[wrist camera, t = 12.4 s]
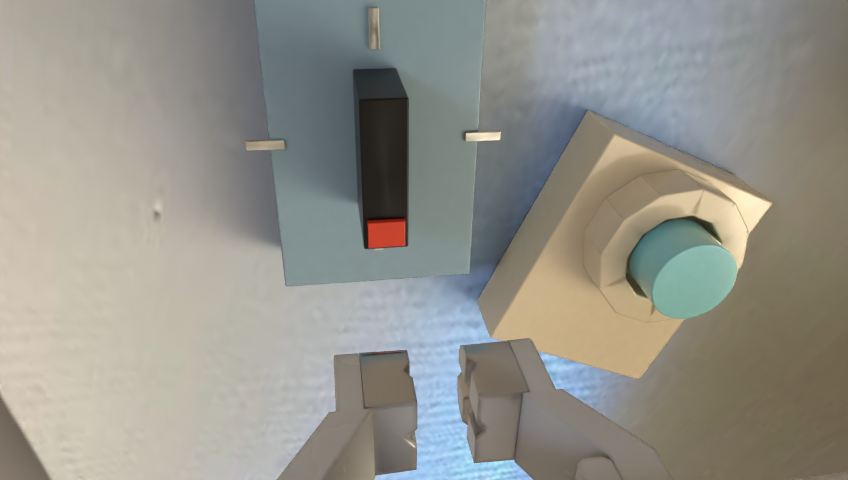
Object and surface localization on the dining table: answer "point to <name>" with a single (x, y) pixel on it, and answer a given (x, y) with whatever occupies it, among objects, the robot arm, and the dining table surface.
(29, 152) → the dining table surface
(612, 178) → the beige nut base
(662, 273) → the teal short cylinder
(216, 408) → the dining table surface
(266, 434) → the dining table surface
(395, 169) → the black rectangular block
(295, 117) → the switch panel
